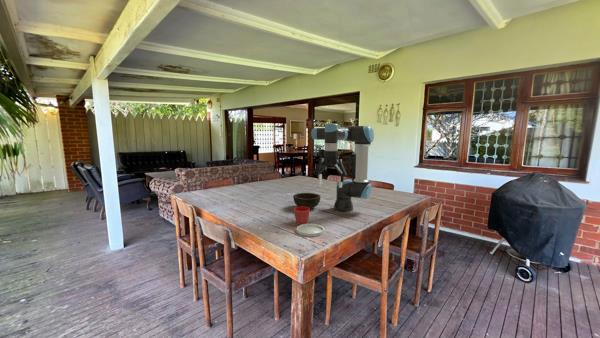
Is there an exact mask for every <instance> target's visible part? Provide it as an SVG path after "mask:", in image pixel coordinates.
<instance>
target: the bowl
mask: <svg viewBox="0 0 600 338" xmlns="http://www.w3.org/2000/svg"><path fill="white" fill-rule="evenodd" d="M321 197H322V196H321V194H318V193H314V192H313V193H312V192H300V193H295V194H293V198H292V199H293V202H294V204H295V205H296V207H301V206H303V207H309V208H310V210H311V209H314V208H315V207H317V206H318V205H319V204H320V201H321Z"/></svg>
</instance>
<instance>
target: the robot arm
mask: <svg viewBox="0 0 600 338" xmlns="http://www.w3.org/2000/svg"><path fill="white" fill-rule="evenodd" d="M310 133H311V134H310V135H311V138H312V140H317V141H318V140H319V141H321V140H324V152H323V153H324V154H323V156H324V157H319V160H318V161H319V162H318V163H317V165H316V168H315V170H314V173H315V174H316V175H317V180H318V186H321V185H323V174H322V173H323V171H324V170H325V169H326V168H327V167H332V168H334V169H335V170H336V171H337V173H338V174H339V176H338V180H337V181H336V196H335V197H336V199H335V202H334V205H333V209H334V210H335V211H338V212H351V211H354V205H353V201H352V198H356V199H361V200H367V199H368V198H369V197H370V196H371V193H372V189H373V187H372V184H371V183H370V180H369V179H368V171H369V170H368V169H369V168H368V167H369V164H368V163H369V160H368V159H369V147H370V146H371V144H372V143H373V142H374V139H375V133H374V129H373V128H372V126H370V125H350V126H343V127H339V126H338V123H326V124H325V125H324V127H313V128H312V129H311V132H310ZM338 141H345V142H352V143H353V142H354V146H356V149H355V150H356V151H355V152H356V154H355V159H356V160H355V178H354V179H344V178H345V176H347V175H348V172H347V171H346V168H345V166H344V163H343V159H341V158H340V159H338Z"/></svg>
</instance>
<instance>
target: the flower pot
mask: <svg viewBox="0 0 600 338" xmlns="http://www.w3.org/2000/svg"><path fill="white" fill-rule="evenodd" d="M293 212H294V219H295V223H296V224H298V225H303V224H309V218H310V212H311V209H310V208H309V207H303V206H301V207H298V206H296V207H294V208H293Z"/></svg>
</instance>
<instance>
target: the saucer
mask: <svg viewBox="0 0 600 338" xmlns="http://www.w3.org/2000/svg"><path fill="white" fill-rule="evenodd" d="M296 233H297V234H298V235H300V236H303V237H312V238H313V237H315V238H316V237H320V236H323V234H325V227H324V226H322V225H320V224H318V223H317V224H316V223H307V224H303V225H301V224H299V225H297V226H296Z"/></svg>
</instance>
